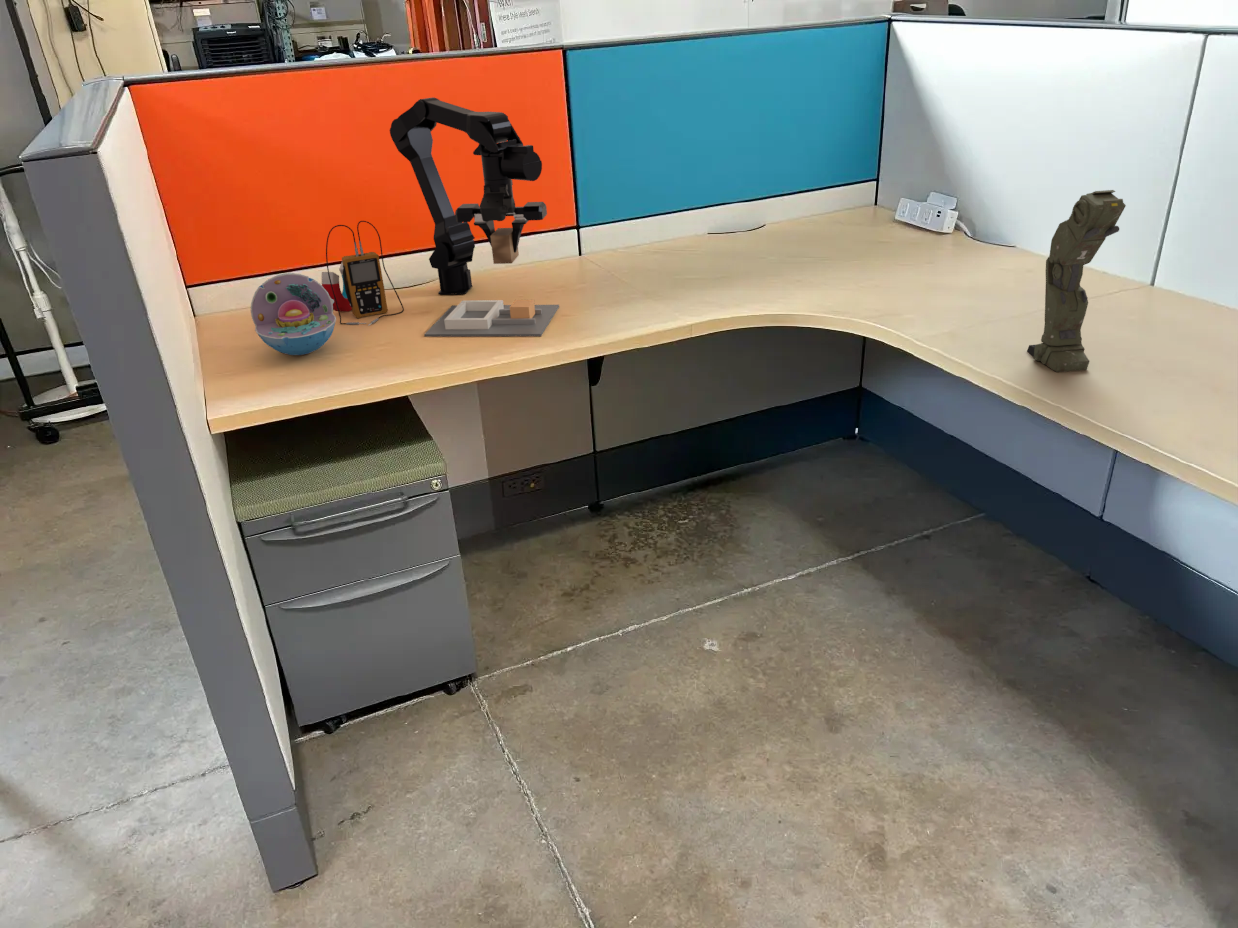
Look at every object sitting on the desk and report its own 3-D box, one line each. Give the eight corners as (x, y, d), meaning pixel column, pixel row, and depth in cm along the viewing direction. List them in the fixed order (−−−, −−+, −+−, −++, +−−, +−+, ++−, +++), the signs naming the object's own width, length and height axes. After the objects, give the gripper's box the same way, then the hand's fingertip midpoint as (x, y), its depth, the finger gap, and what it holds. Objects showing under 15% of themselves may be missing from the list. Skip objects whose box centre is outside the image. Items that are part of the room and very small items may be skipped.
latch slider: (511, 321, 183) (509, 307, 182) (516, 313, 188) (515, 299, 186) (530, 321, 183) (528, 307, 181) (535, 313, 187) (533, 299, 186)
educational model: (265, 374, 165) (245, 295, 158) (258, 344, 180) (240, 271, 173) (351, 359, 170) (335, 282, 163) (337, 331, 186) (323, 259, 179)
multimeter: (345, 331, 185) (326, 235, 176) (335, 319, 193) (316, 226, 184) (414, 318, 191) (399, 224, 181) (402, 307, 199) (387, 216, 189)
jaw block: (493, 263, 191) (490, 235, 188) (501, 255, 197) (498, 228, 194) (511, 263, 190) (508, 235, 188) (518, 255, 197) (515, 227, 194)
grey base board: (424, 336, 180) (422, 324, 178) (452, 307, 196) (450, 296, 195) (541, 336, 176) (539, 324, 175) (559, 306, 193) (558, 295, 192)
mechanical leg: (1011, 339, 160) (1061, 178, 140) (1050, 336, 160) (1105, 175, 140) (1046, 384, 149) (1105, 217, 130) (1087, 381, 150) (1153, 214, 130)
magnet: (352, 302, 204) (344, 259, 199) (364, 302, 203) (355, 259, 199) (328, 318, 194) (318, 273, 189) (339, 319, 193) (330, 273, 188)
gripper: (443, 186, 180) (453, 263, 187) (533, 183, 178) (540, 261, 185) (458, 176, 190) (467, 249, 197) (544, 174, 187) (550, 248, 195)
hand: (505, 252), depth 193 cm, fingers closed on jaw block, 4 cm apart
